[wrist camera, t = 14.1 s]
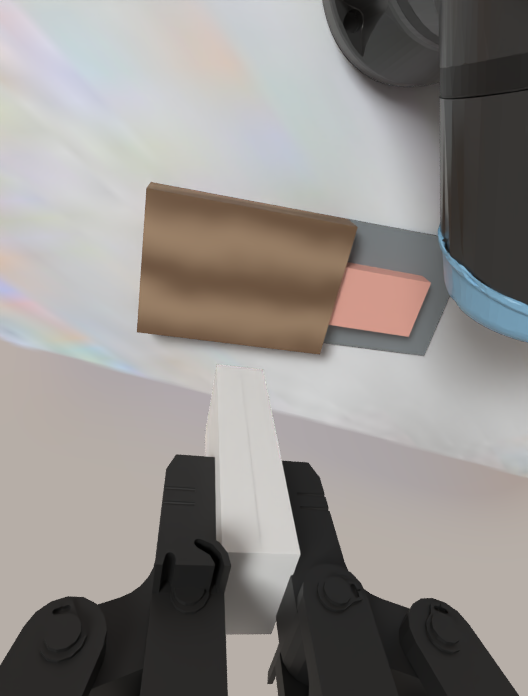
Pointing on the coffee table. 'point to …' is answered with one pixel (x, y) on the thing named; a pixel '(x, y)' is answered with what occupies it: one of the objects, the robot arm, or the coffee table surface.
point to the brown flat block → (239, 270)
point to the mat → (404, 256)
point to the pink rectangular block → (379, 300)
